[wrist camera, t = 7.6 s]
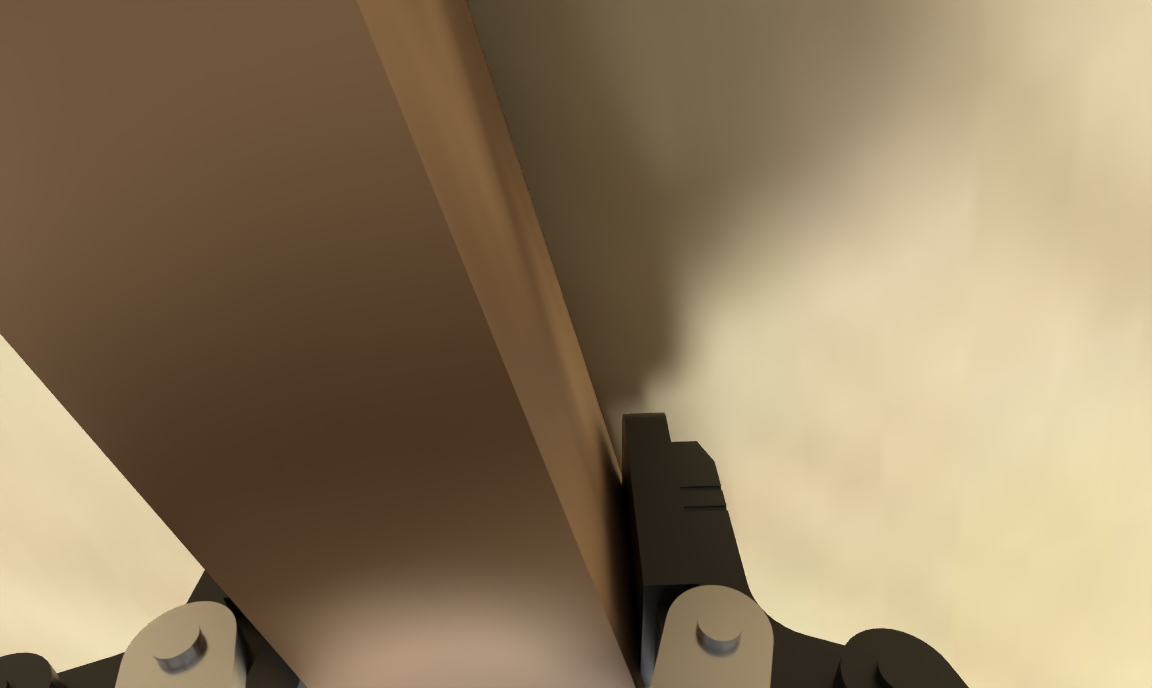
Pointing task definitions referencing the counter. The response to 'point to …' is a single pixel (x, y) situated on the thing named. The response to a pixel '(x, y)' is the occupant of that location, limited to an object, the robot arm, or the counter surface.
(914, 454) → the counter surface
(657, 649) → the robot arm
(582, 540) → the bar
